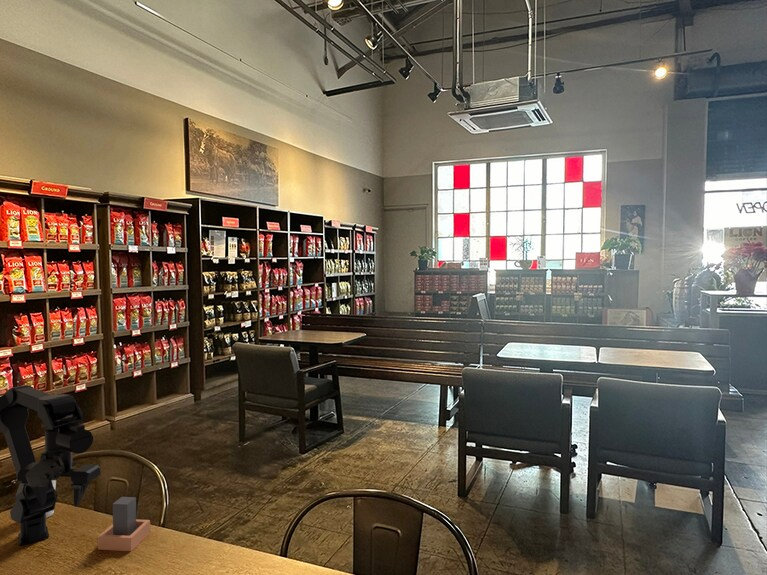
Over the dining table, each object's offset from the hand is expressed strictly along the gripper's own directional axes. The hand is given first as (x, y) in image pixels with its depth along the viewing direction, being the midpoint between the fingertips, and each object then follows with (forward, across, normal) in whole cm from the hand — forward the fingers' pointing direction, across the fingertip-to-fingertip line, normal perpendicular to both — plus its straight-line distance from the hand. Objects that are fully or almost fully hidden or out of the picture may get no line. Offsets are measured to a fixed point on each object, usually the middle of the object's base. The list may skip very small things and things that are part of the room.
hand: (59, 505), depth 126 cm
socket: (+12, +14, +6) cm, 19 cm away
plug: (+12, +14, +6) cm, 19 cm away
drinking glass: (+12, -18, +16) cm, 27 cm away
